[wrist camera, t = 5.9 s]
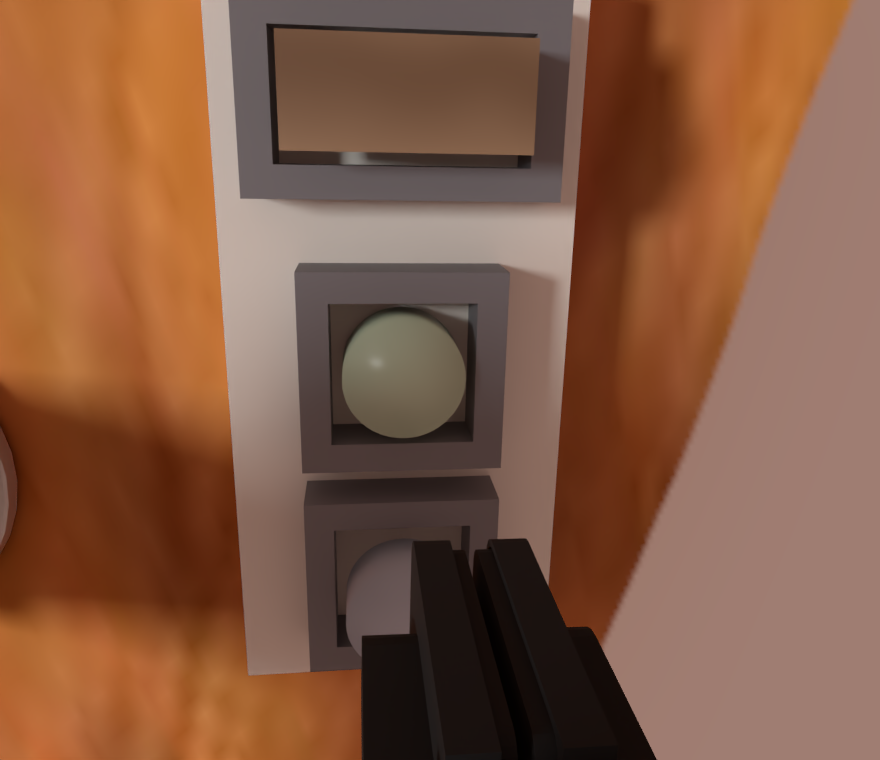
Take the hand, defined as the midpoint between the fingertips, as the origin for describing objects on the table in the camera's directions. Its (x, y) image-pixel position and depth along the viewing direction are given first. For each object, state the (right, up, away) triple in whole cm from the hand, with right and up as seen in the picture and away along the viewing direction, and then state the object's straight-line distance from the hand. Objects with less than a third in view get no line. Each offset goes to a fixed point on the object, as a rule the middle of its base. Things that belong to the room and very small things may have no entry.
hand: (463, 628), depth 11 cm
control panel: (-2, +5, +18) cm, 19 cm away
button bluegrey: (-2, -4, +16) cm, 16 cm away
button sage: (-2, +4, +15) cm, 16 cm away
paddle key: (-1, +12, +11) cm, 16 cm away
